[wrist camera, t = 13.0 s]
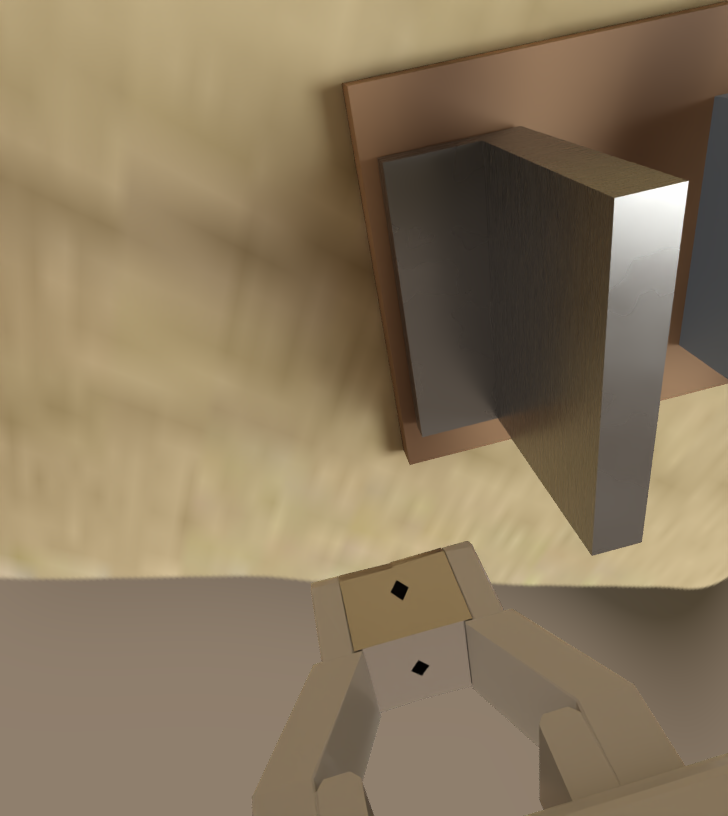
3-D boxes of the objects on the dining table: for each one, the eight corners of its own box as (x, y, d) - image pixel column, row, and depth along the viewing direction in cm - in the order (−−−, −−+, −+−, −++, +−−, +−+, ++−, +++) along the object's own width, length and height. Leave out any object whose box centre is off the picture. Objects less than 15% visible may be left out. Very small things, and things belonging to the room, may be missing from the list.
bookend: (520, 125, 18) (688, 180, 11) (526, 398, 24) (641, 542, 17) (377, 157, 18) (463, 233, 11) (416, 425, 23) (490, 583, 17)
